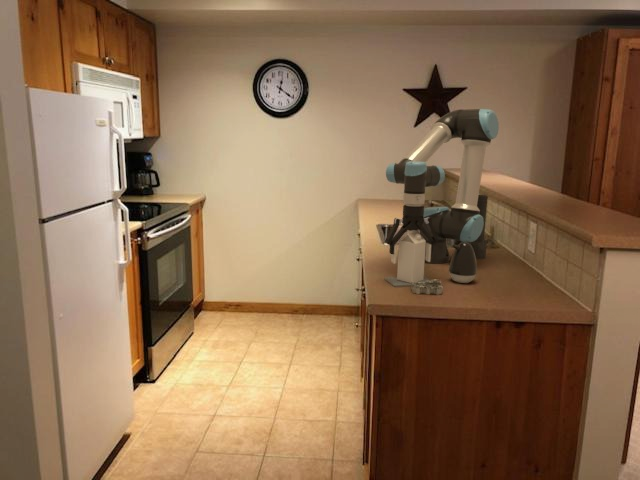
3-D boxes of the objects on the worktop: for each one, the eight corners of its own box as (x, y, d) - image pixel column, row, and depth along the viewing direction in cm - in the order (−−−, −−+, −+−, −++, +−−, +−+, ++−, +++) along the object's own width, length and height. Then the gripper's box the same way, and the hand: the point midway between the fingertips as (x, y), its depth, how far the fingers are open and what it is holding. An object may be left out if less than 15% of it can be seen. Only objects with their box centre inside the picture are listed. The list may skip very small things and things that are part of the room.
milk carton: (396, 280, 199) (399, 229, 195) (407, 276, 204) (410, 227, 200) (412, 284, 194) (415, 232, 190) (423, 280, 199) (426, 230, 195)
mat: (423, 277, 206) (423, 275, 206) (435, 284, 196) (435, 283, 196) (384, 279, 202) (384, 277, 202) (394, 287, 192) (394, 285, 192)
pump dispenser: (442, 279, 204) (444, 240, 200) (464, 276, 208) (467, 238, 204) (458, 286, 194) (461, 245, 191) (481, 283, 198) (485, 243, 195)
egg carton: (440, 289, 191) (441, 278, 190) (443, 296, 183) (444, 284, 182) (410, 288, 192) (411, 277, 191) (411, 294, 184) (412, 283, 184)
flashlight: (481, 255, 245) (466, 255, 244) (486, 194, 239) (471, 194, 238) (488, 258, 238) (472, 258, 237) (493, 196, 232) (478, 196, 231)
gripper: (385, 207, 186) (382, 265, 191) (450, 205, 192) (446, 262, 197) (377, 204, 193) (375, 260, 198) (440, 202, 199) (437, 257, 204)
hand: (410, 261), depth 197 cm, fingers open, 13 cm apart
